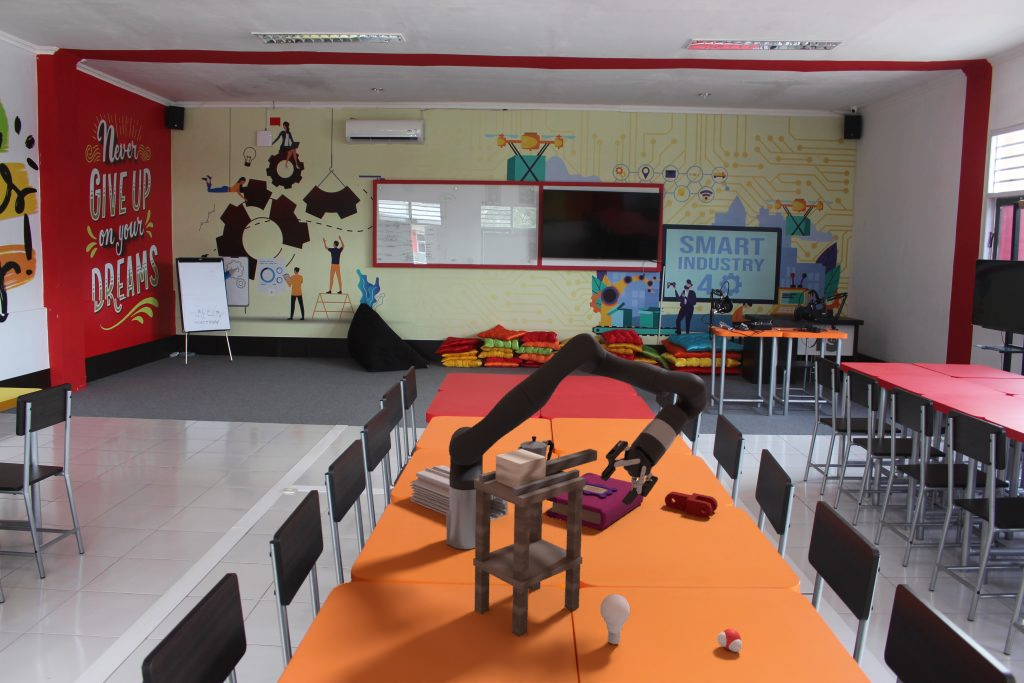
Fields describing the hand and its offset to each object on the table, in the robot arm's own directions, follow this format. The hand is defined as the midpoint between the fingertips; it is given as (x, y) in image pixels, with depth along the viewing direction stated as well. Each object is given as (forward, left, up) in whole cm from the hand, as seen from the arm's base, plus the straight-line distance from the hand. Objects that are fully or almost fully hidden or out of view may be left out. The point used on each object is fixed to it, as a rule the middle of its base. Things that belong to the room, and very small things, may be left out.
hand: (613, 491), depth 178 cm
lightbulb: (+4, -19, -28) cm, 34 cm away
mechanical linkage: (+14, +67, -28) cm, 74 cm away
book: (-15, +58, -28) cm, 66 cm away
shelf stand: (-18, -11, -28) cm, 34 cm away
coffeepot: (-39, +72, -28) cm, 87 cm away
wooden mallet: (-14, -4, +4) cm, 15 cm away
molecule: (+28, -13, -28) cm, 42 cm away
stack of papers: (-57, +44, -28) cm, 77 cm away
